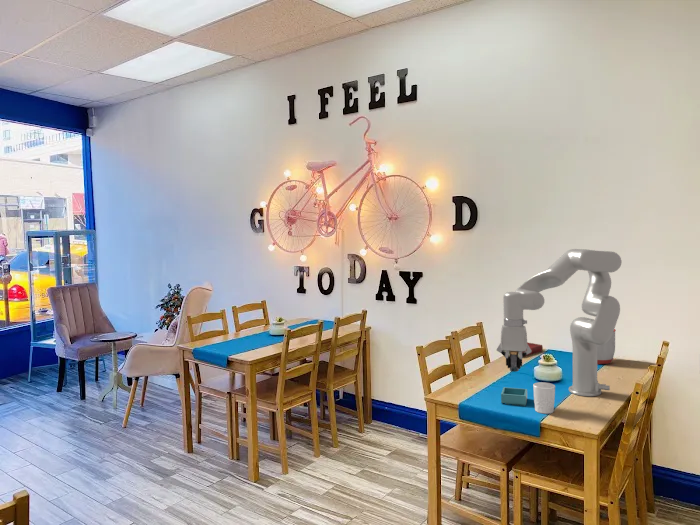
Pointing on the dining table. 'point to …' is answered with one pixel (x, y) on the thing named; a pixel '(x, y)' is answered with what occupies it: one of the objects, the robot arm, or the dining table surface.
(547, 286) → the robot arm
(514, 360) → the cell
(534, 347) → the hardcover book
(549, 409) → the white cup
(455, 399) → the dining table surface
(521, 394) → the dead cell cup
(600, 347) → the citrus juicer
